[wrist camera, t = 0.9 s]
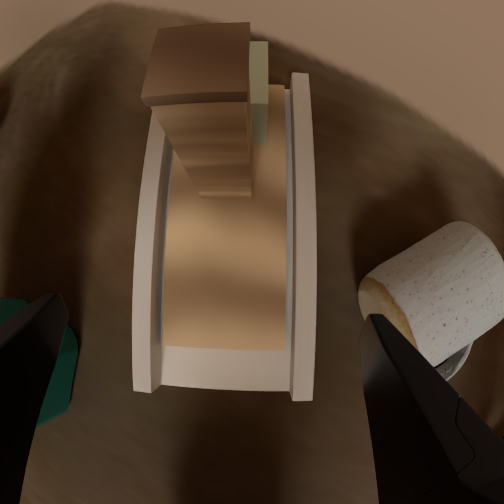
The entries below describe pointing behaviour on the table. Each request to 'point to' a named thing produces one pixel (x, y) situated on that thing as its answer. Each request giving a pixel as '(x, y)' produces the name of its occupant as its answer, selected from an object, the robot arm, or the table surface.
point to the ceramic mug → (440, 293)
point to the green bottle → (63, 371)
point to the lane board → (297, 277)
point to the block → (259, 90)
